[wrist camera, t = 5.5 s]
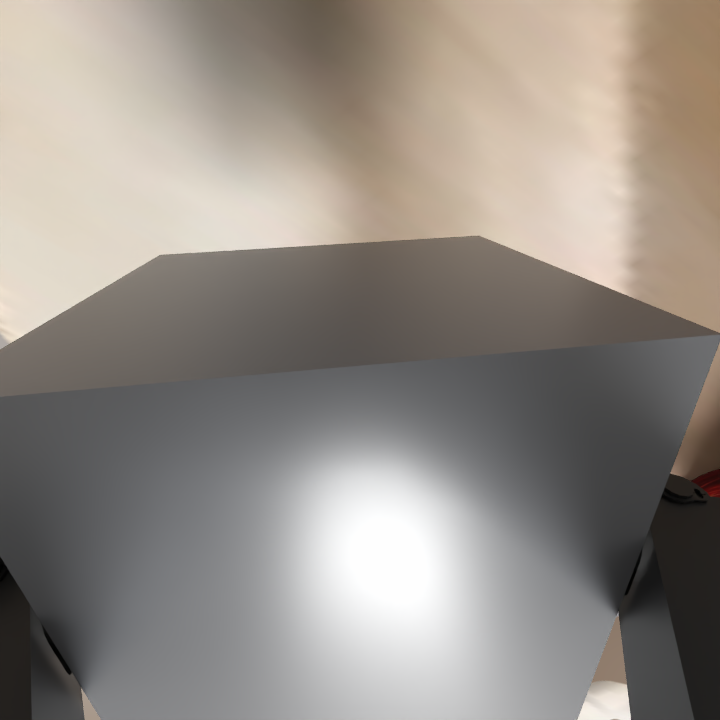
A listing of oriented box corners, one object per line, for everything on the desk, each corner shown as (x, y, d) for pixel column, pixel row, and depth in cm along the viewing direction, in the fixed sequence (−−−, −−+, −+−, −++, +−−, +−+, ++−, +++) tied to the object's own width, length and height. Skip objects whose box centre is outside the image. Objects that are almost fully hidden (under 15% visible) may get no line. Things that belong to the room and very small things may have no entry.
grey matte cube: (160, 255, 13) (-94, 404, 5) (478, 235, 13) (723, 334, 5) (221, 501, 17) (146, 792, 9) (458, 475, 18) (577, 719, 10)
